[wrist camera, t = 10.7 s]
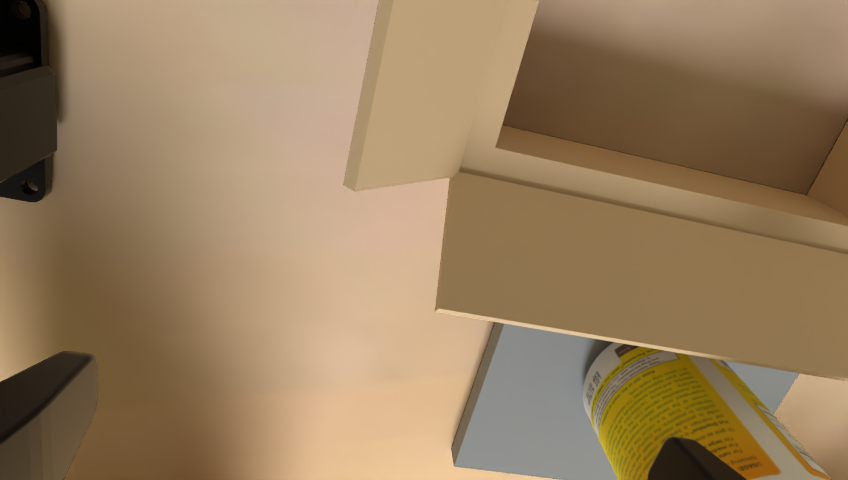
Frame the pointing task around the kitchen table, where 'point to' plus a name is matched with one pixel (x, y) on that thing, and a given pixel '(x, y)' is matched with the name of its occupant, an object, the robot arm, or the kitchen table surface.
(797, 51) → the kitchen table surface
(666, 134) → the kitchen table surface
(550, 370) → the slate mat
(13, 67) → the robot arm
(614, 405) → the supplement bottle
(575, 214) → the carton
